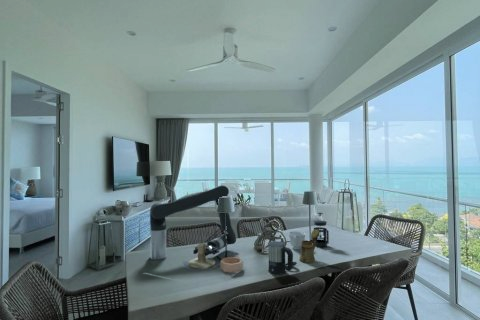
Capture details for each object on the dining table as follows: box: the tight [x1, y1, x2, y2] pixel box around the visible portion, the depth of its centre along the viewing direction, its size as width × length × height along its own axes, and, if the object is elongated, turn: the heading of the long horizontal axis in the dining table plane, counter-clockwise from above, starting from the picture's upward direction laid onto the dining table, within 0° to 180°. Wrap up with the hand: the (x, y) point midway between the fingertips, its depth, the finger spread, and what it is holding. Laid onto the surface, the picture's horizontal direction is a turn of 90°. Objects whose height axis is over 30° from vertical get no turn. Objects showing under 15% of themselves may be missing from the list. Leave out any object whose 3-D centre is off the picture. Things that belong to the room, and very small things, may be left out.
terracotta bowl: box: [219, 256, 244, 275], centre depth 147 cm, size 11×11×5 cm
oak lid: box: [188, 242, 215, 270], centre depth 154 cm, size 15×15×11 cm
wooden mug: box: [299, 229, 320, 264], centre depth 162 cm, size 9×14×18 cm, turn 116°
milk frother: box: [267, 240, 298, 275], centre depth 147 cm, size 14×16×15 cm
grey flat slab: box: [182, 256, 221, 273], centre depth 154 cm, size 18×16×1 cm
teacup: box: [287, 231, 307, 250], centre depth 184 cm, size 12×15×10 cm
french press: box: [313, 212, 330, 249], centre depth 190 cm, size 12×9×23 cm
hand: (199, 253), depth 152 cm, fingers open, 7 cm apart
